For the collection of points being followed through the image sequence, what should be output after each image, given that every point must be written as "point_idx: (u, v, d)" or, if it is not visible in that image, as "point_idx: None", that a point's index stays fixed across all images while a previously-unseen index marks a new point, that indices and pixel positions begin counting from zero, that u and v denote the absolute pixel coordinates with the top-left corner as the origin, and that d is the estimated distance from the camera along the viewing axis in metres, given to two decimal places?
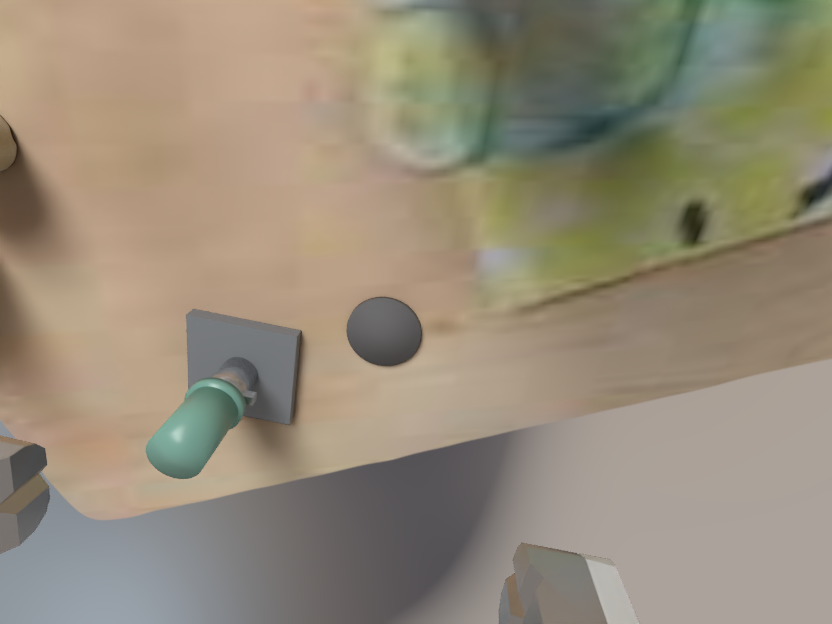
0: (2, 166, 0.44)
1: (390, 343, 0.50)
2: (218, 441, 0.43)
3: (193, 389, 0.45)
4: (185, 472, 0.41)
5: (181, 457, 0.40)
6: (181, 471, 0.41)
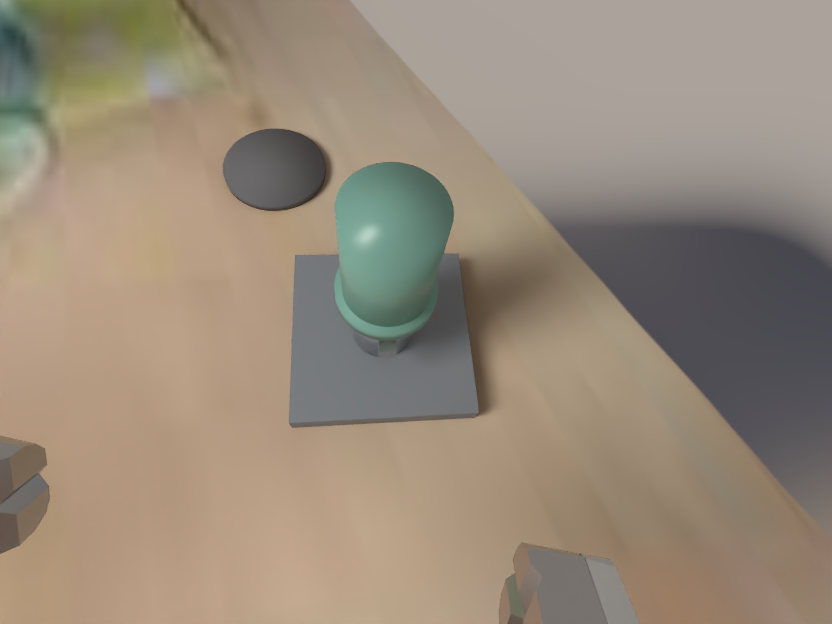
0: None
1: (288, 156, 0.38)
2: None
3: (355, 318, 0.25)
4: (430, 191, 0.20)
5: (391, 197, 0.20)
6: (430, 198, 0.20)
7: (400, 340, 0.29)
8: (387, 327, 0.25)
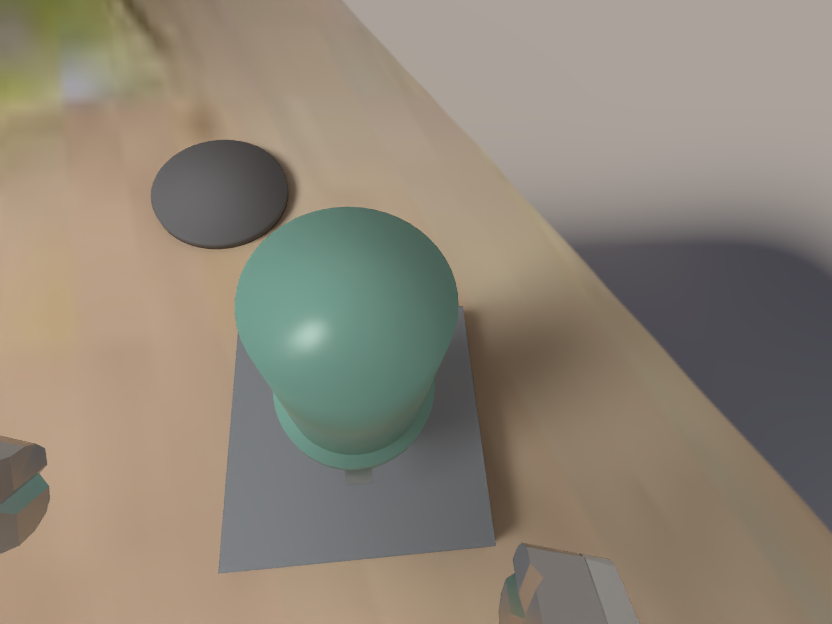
0: None
1: (239, 176, 0.29)
2: None
3: (304, 441, 0.16)
4: (415, 261, 0.11)
5: (343, 274, 0.11)
6: (416, 274, 0.11)
7: None
8: (355, 455, 0.16)
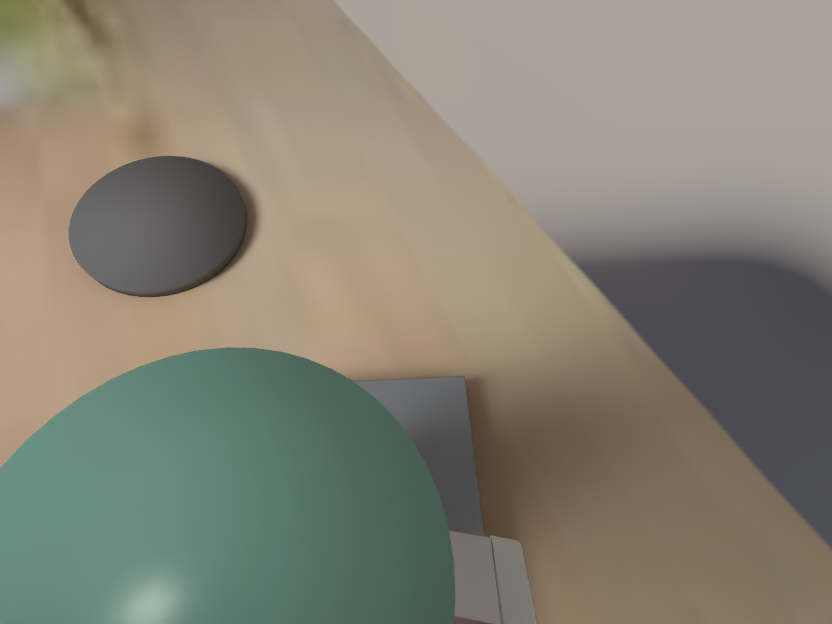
0: None
1: (184, 202, 0.23)
2: None
3: None
4: (363, 479, 0.05)
5: (198, 520, 0.05)
6: (362, 513, 0.05)
7: None
8: None
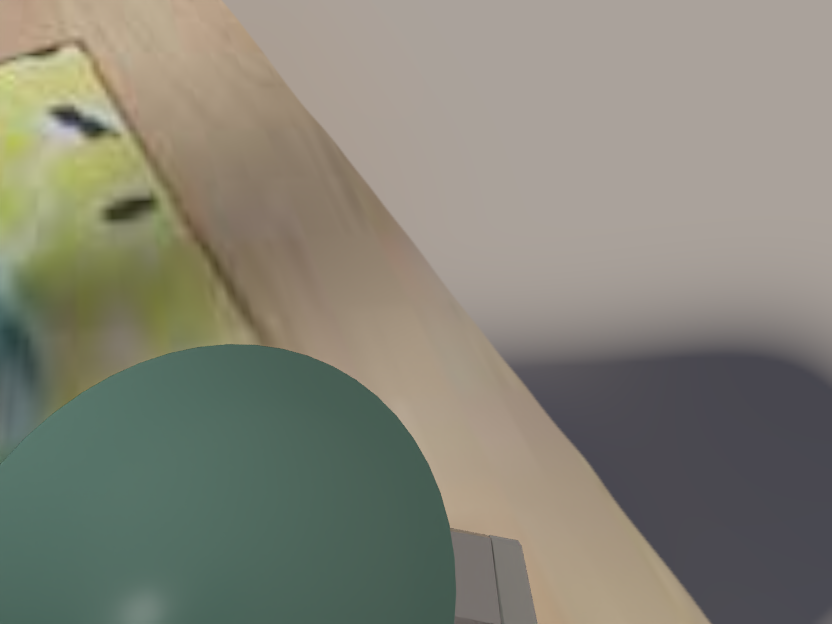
0: None
1: None
2: None
3: None
4: (364, 477, 0.05)
5: (197, 517, 0.05)
6: (362, 510, 0.05)
7: None
8: None
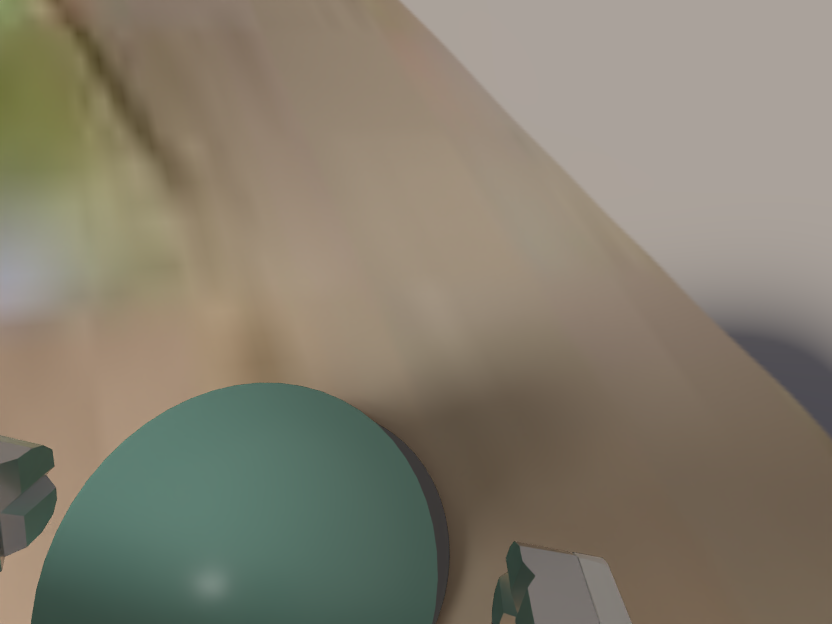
0: None
1: None
2: None
3: None
4: (366, 488, 0.07)
5: (240, 520, 0.06)
6: (366, 514, 0.06)
7: None
8: None
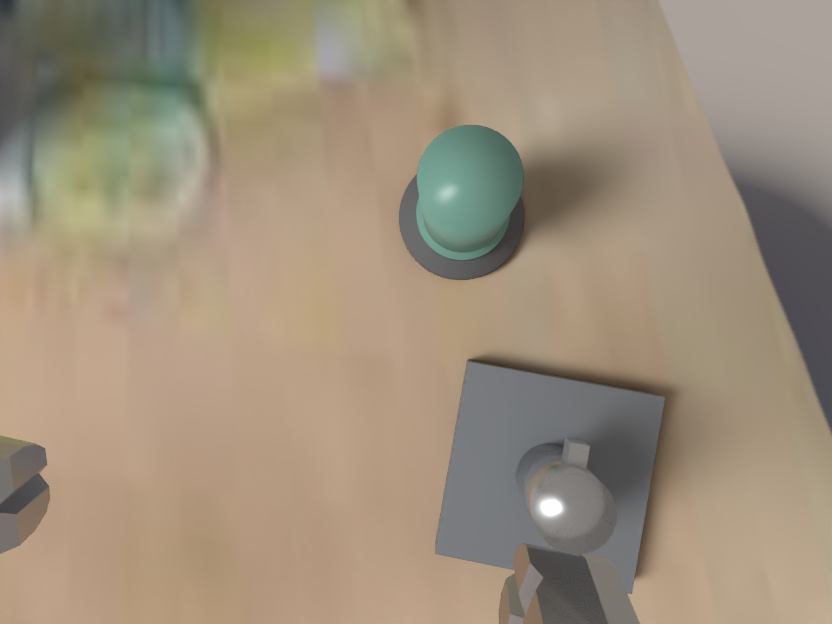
0: None
1: None
2: None
3: (429, 238, 0.29)
4: (506, 164, 0.22)
5: (469, 164, 0.22)
6: (504, 171, 0.22)
7: None
8: (454, 252, 0.29)
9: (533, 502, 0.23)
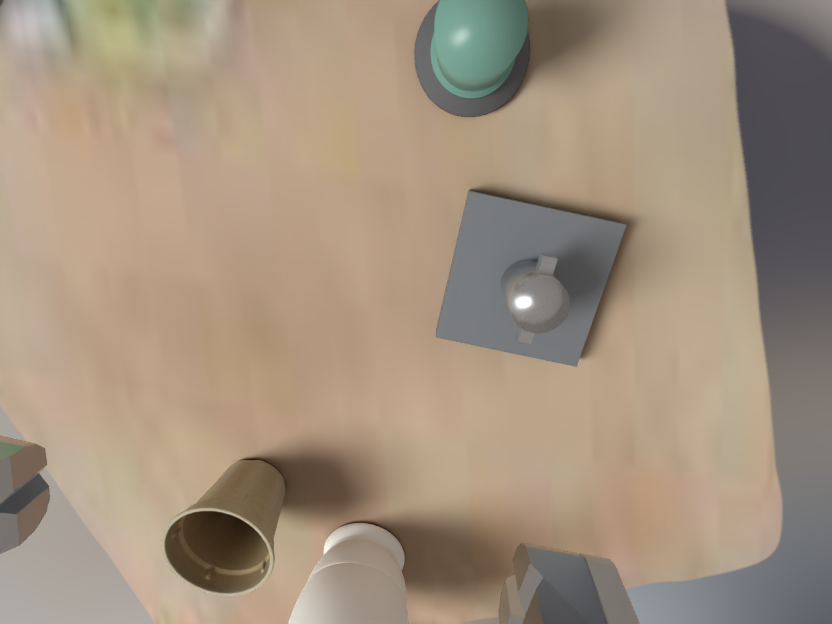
0: (273, 477, 0.44)
1: None
2: None
3: (441, 76, 0.32)
4: (514, 12, 0.25)
5: (481, 11, 0.25)
6: (512, 19, 0.25)
7: None
8: (463, 90, 0.32)
9: (510, 297, 0.32)
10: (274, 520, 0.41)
